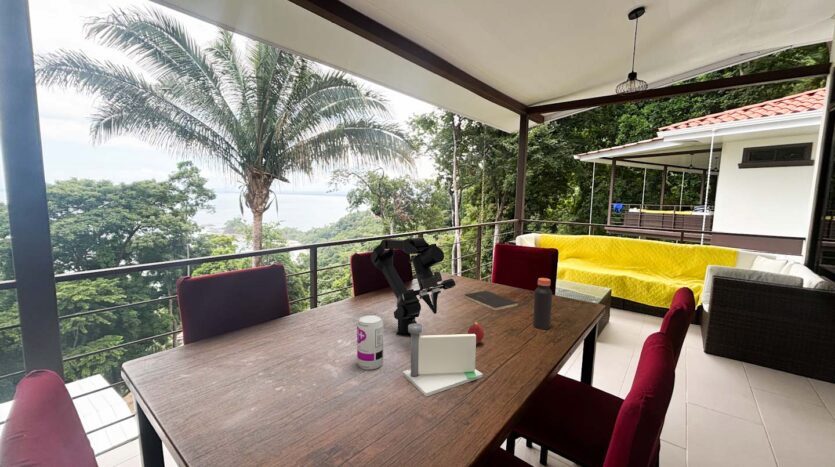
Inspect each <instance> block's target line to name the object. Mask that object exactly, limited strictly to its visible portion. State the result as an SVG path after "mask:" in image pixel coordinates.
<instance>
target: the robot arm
mask: <svg viewBox="0 0 835 467" xmlns="http://www.w3.org/2000/svg"><path fill="white" fill-rule="evenodd" d="M395 250H399V251H403V253H405V254H408V255H411V256H410V258H409V260H408V263H409V264H410V263H411V264H412V265H413V269H414V273H415V276H416V280H417V284H418V286H419V287H418V288H419V289H416V290H414V288H412V289H411V288H410V289H407V287H406V285H405V284H404V283H403V281H402V278H400V276H399V273H398V272H397V270H396V268H395V266H394V264H393V263H394V258H393V257H394V255H395ZM444 259H445V253H444V251H443V250H442V249H441V248H440V247H439V246H438V245H437V243H431V244H429V242H427V241H426V240H425V238H424V237H422V236H421V237H420V236H419V237H411V238H409V237H408V238H406V239H397V238H396V239H395V238H394V239H393V238H384V239H382V240H381V241H380V243H379V244H378V245H377V246H376V247H375V248H374V249H373V251H372V252H371V254H370V260H371V263H372V264H373V265H374V267H375V268H376V269H378V270H380V271H381V272H382V274H383V275H384V277H385V280H386V281H387V283H388V284H389V286H390V288H391V290H392V292H393V294H394V296H395V297H396V309H395V310H394V311H393V316H394V317H393V318H394V319H395V320H397V331H396V333H395V335H397V336H404V337H410V338H411V333H409V332H408V325H409V324H413V323H417V324H418V322H417V321H416V318H418V317H420V314H421V311H422V310H421V309H422V305H421V302H420V300H423V301H424V303H426V305H427V306H428V308H429V309H430V310H431V311H432V313H433V314H434V315H436V314H437V311H438V310H437V309H438V297H439V294H441V292H442V291H441V290H442V289H443V290H450V289H452V288H454V287H456V286H457V284H456V283H455V282H456V281H455V279H453V278H448V279H444V280H443V278H442V274H441V272H440V271H435V272H433V271H432V269H431V267H434V266H436V265H438V264H439V263H441V262H443V261H444ZM439 282H440V283H439ZM430 293H431V294H430ZM418 296H419V298H418ZM430 296H431V297H430Z"/></svg>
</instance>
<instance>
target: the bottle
mask: <svg viewBox="0 0 835 467" xmlns="http://www.w3.org/2000/svg"><path fill="white" fill-rule="evenodd" d="M551 283H552V282H551V279H550V278H547V277H539V278H538V279H537V286H538V287H536V289H535V290H534V298H533V300H534V302H533V315H532V316H533V319H532V325H533V327H534V328H536V329H538V330H548V329H550V328H551V325H552V324H551V323H552V322H551V321H552V307H553V291H552V290H551V288H550V287H551Z"/></svg>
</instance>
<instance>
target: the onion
mask: <svg viewBox="0 0 835 467" xmlns="http://www.w3.org/2000/svg"><path fill="white" fill-rule="evenodd" d="M467 334H475V335H476V345H477V344H478V343H480V342H481V341H483V339H484V337H485V332H484V330H483V328H482V326H480V325H479V323H478V322H477V321H475V322H474V324H473V325H471V326H470V327H469V328H468V330H467Z"/></svg>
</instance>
